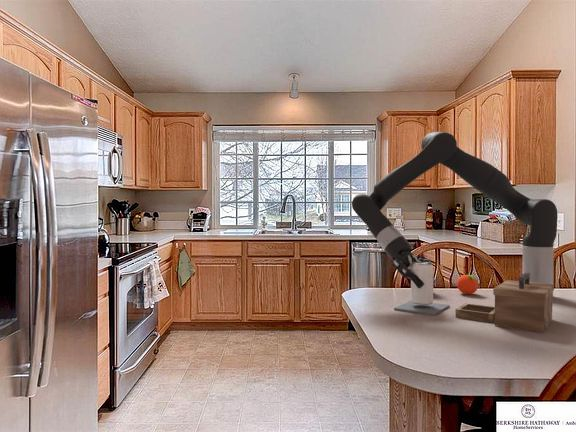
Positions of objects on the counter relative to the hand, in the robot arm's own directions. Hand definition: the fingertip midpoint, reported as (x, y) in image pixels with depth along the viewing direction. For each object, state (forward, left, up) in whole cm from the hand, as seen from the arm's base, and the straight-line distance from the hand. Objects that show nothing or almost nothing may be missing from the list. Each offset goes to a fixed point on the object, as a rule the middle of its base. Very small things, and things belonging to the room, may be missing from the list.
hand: (427, 285), depth 132 cm
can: (0, -2, -6) cm, 6 cm away
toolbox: (0, +21, -7) cm, 22 cm away
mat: (0, -2, -7) cm, 7 cm away
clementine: (-31, +3, -8) cm, 32 cm away
